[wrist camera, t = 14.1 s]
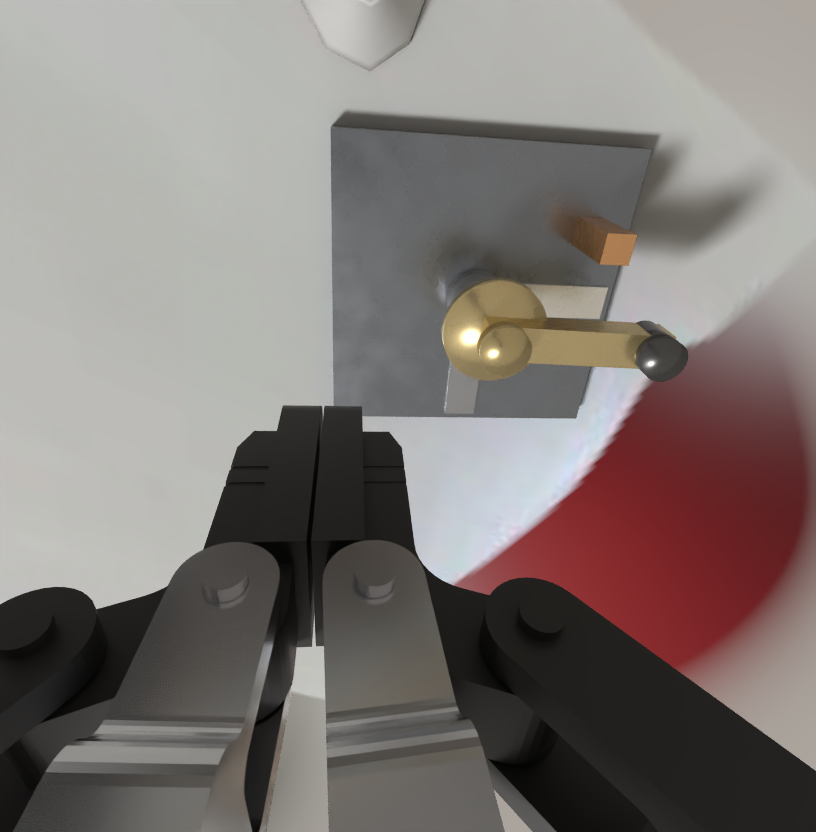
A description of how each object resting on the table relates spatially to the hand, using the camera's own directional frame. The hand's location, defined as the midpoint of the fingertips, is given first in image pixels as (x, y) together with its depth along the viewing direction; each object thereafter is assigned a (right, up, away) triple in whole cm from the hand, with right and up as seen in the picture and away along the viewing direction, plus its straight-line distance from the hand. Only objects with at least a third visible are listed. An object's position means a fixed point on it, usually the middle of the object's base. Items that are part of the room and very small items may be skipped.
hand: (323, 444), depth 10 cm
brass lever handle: (+12, +6, +25) cm, 29 cm away
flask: (-1, +26, +21) cm, 33 cm away
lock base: (+7, +10, +31) cm, 33 cm away
